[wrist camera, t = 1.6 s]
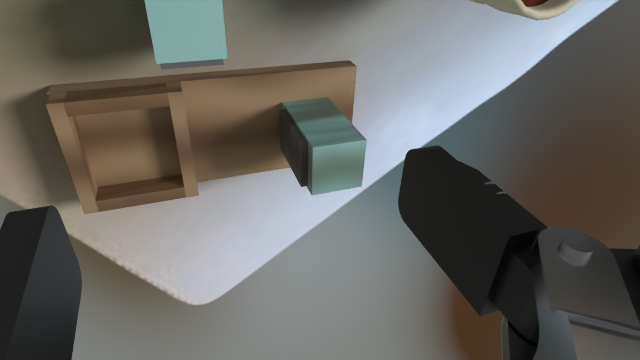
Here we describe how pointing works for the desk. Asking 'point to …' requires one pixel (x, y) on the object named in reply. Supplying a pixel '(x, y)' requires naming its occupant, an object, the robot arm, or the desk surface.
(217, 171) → the wooden tray with block
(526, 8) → the character mug
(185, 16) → the teal rectangular prism
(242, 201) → the desk surface
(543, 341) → the robot arm
